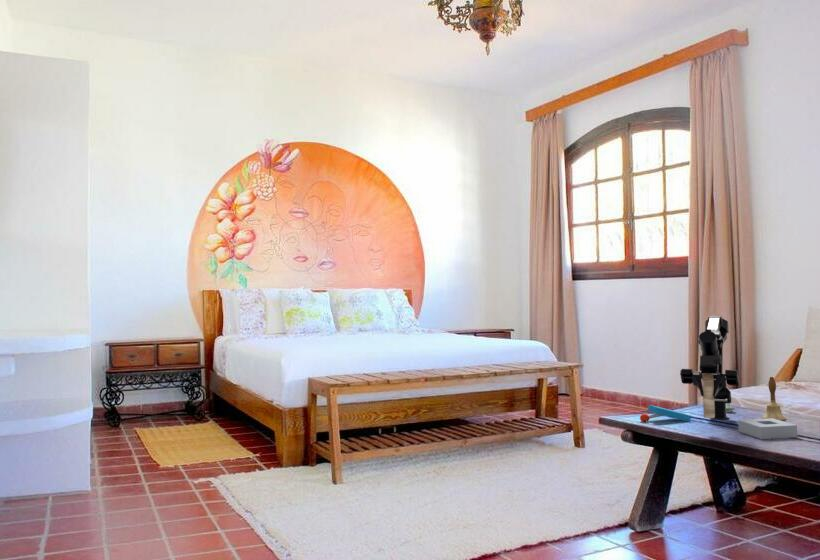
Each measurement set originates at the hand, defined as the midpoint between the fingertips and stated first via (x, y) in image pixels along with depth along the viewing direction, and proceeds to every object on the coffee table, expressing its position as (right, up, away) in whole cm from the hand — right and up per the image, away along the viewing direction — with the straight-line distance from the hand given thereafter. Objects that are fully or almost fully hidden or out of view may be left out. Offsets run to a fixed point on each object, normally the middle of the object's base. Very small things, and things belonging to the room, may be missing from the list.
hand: (708, 396), depth 240 cm
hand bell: (+36, -13, +25) cm, 46 cm away
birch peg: (+1, -8, +1) cm, 8 cm away
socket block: (+20, -13, -2) cm, 24 cm away
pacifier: (+26, -14, +43) cm, 52 cm away
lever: (-5, -15, +27) cm, 31 cm away
